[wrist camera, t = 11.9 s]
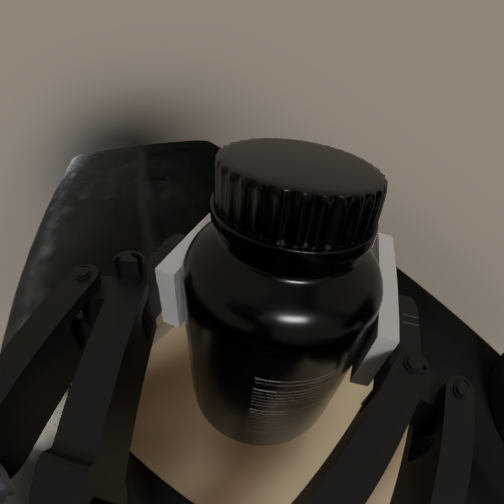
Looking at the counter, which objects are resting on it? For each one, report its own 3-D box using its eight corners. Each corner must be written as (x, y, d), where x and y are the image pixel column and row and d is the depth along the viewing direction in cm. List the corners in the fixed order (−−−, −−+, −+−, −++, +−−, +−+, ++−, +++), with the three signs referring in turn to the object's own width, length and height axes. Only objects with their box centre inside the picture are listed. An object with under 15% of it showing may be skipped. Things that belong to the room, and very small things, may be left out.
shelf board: (440, 407, 19) (466, 382, 17) (364, 582, 8) (393, 587, 6) (217, 295, 29) (217, 262, 27) (85, 405, 18) (65, 378, 16)
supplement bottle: (335, 362, 17) (415, 162, 10) (300, 467, 11) (451, 268, 4) (227, 324, 18) (242, 119, 11) (169, 413, 13) (116, 173, 6)
